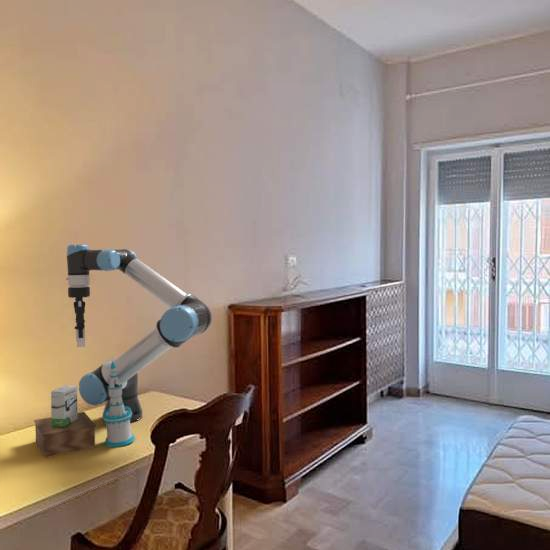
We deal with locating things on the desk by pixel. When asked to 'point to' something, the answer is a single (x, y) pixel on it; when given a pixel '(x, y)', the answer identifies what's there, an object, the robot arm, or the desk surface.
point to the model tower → (117, 415)
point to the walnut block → (65, 436)
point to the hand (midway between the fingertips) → (80, 343)
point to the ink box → (64, 406)
